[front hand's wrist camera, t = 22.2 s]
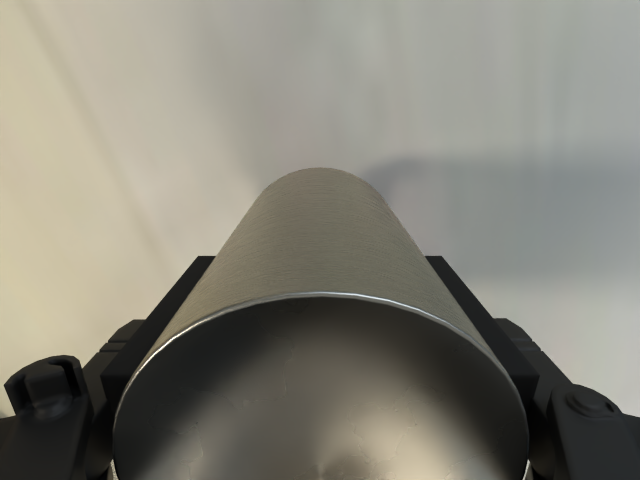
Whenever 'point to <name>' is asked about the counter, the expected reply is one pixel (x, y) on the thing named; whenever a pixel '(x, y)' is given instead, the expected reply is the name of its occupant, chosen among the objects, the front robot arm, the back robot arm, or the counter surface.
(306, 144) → the counter surface
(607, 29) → the counter surface
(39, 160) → the counter surface
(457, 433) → the tin
